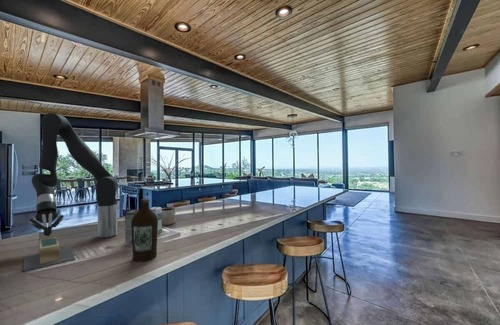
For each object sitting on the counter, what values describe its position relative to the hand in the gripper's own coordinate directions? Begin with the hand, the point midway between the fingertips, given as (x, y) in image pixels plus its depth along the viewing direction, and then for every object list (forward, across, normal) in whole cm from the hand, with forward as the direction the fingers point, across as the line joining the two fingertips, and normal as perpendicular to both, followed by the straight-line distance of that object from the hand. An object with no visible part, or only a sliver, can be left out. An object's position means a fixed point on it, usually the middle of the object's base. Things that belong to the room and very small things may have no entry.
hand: (47, 235), depth 109 cm
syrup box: (+8, +48, +4) cm, 49 cm away
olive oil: (+32, +30, -20) cm, 48 cm away
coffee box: (+15, +33, -4) cm, 37 cm away
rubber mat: (+12, 0, -1) cm, 13 cm away
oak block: (+3, 0, +4) cm, 4 cm away
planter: (-4, +62, +15) cm, 64 cm away
